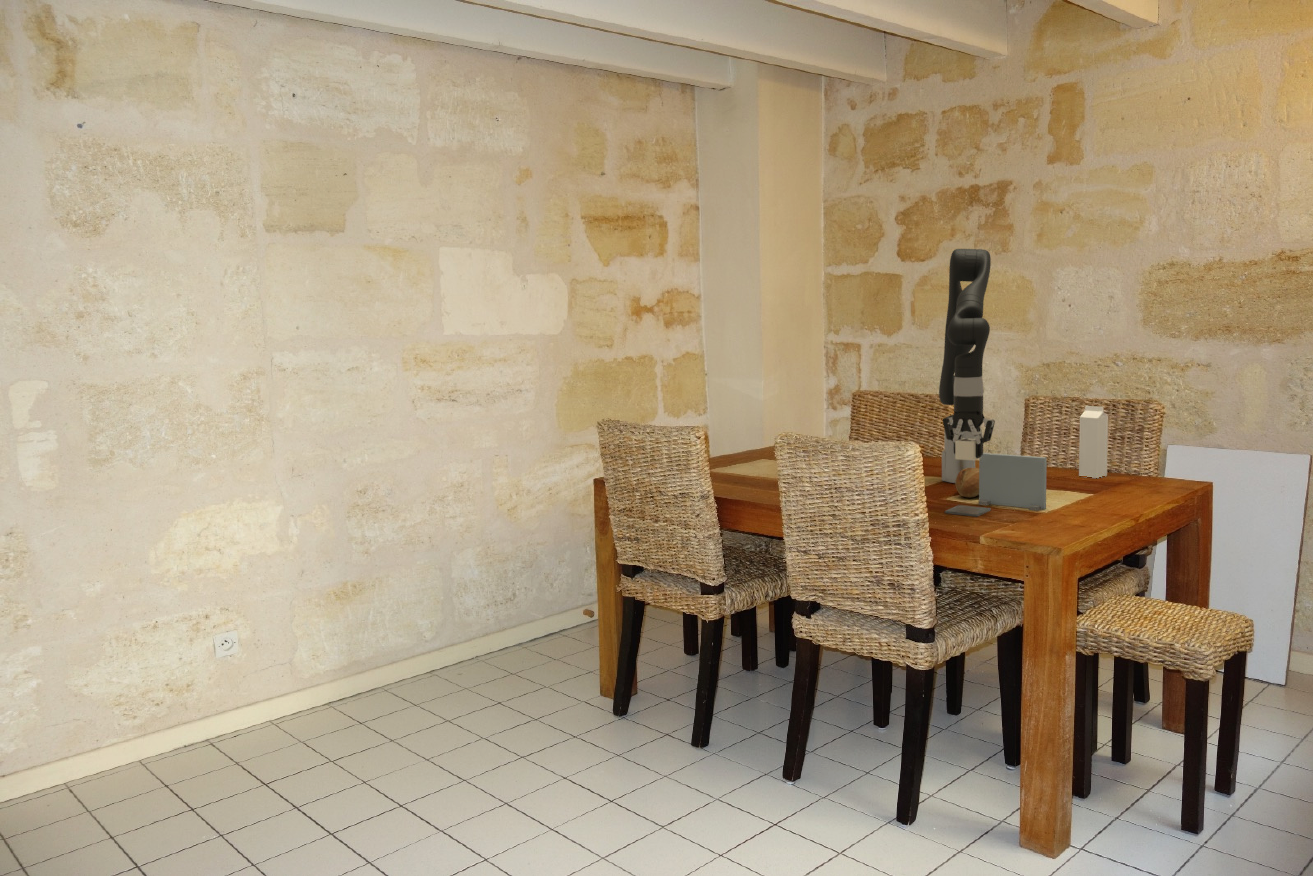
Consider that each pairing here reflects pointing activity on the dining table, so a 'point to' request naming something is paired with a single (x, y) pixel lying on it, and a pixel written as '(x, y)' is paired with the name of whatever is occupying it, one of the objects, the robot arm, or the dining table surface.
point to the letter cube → (965, 449)
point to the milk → (1093, 442)
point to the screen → (1012, 481)
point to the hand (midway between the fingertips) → (968, 456)
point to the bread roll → (968, 482)
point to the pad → (968, 510)
